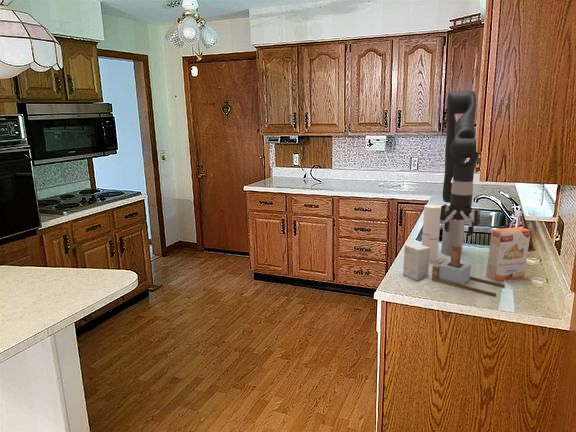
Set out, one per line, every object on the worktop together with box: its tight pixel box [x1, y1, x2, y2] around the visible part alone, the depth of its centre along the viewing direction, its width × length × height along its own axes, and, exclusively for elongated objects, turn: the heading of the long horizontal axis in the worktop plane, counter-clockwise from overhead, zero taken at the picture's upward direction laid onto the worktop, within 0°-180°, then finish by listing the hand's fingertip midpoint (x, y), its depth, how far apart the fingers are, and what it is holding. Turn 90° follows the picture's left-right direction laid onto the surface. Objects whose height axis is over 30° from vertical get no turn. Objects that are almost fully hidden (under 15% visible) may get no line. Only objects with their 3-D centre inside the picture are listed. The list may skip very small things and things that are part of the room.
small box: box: [402, 242, 430, 281], centre depth 182 cm, size 8×6×13 cm
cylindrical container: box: [421, 204, 442, 264], centre depth 200 cm, size 7×7×25 cm
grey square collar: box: [438, 258, 472, 285], centre depth 176 cm, size 9×9×6 cm
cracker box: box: [485, 226, 532, 282], centre depth 178 cm, size 14×6×21 cm, turn 105°
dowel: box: [450, 245, 462, 268], centre depth 175 cm, size 3×3×12 cm
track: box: [431, 258, 506, 297], centre depth 173 cm, size 11×24×7 cm, turn 49°
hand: (458, 233), depth 172 cm, fingers open, 8 cm apart
